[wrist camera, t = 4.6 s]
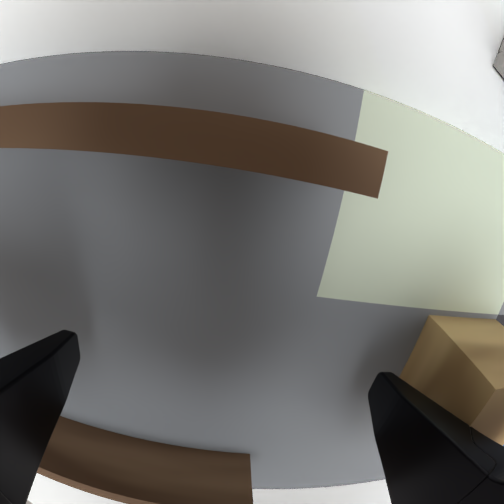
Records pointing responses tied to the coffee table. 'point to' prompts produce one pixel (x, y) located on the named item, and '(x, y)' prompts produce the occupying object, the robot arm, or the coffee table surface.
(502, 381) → the oak block
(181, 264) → the slate board
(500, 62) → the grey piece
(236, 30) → the coffee table surface
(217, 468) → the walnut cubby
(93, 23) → the coffee table surface
